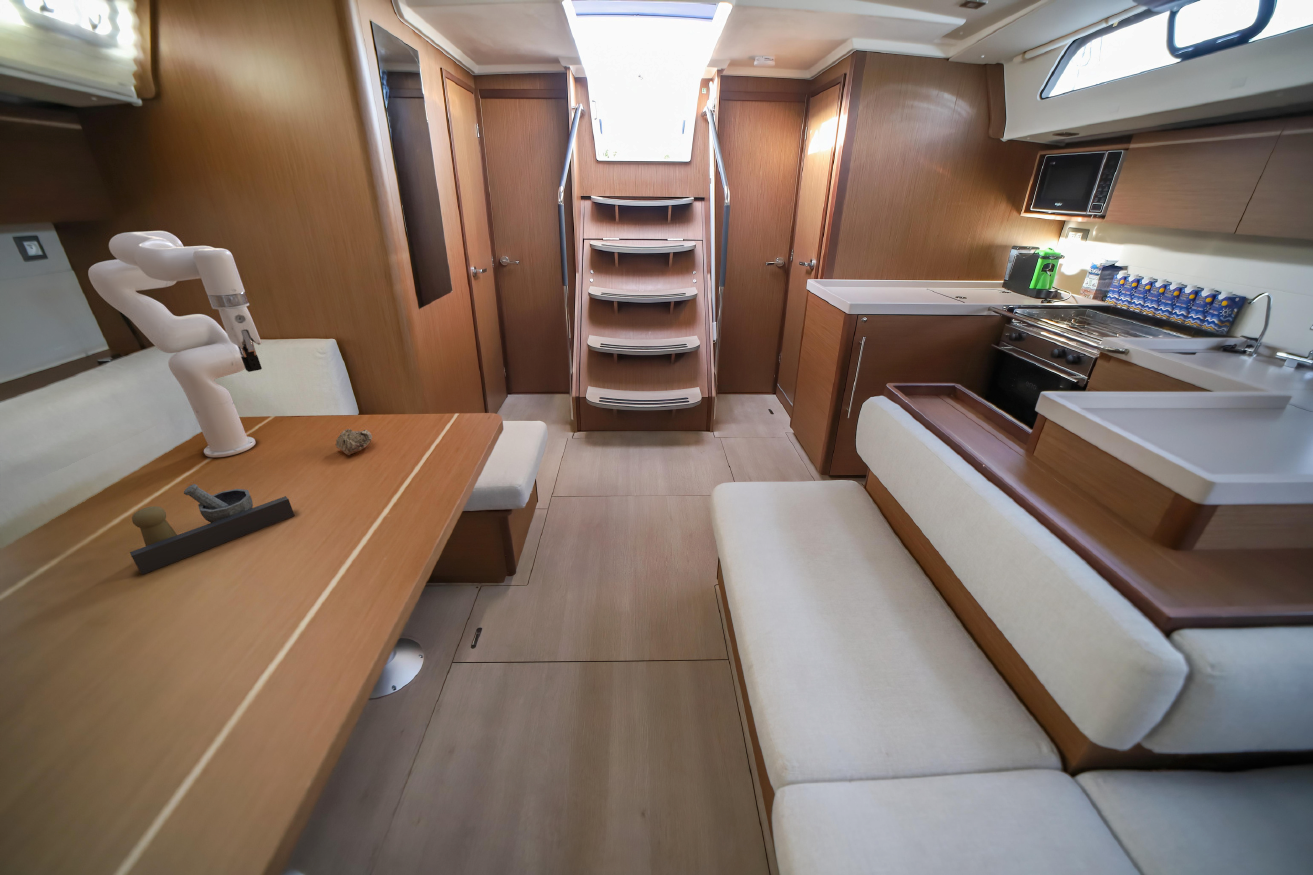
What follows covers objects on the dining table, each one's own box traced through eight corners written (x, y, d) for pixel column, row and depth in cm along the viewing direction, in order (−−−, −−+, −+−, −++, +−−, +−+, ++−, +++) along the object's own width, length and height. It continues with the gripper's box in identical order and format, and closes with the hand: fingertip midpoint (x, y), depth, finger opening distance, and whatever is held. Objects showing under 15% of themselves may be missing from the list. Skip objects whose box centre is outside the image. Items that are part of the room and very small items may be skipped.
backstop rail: (140, 570, 105) (129, 552, 103) (292, 512, 125) (285, 495, 123) (142, 575, 104) (131, 556, 102) (294, 515, 124) (288, 498, 121)
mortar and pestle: (263, 508, 126) (246, 467, 121) (255, 529, 119) (237, 485, 113) (208, 519, 122) (188, 477, 117) (196, 541, 114) (174, 497, 109)
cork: (191, 546, 113) (171, 505, 108) (160, 562, 108) (137, 520, 103) (174, 540, 115) (153, 500, 110) (142, 556, 109) (119, 515, 105)
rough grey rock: (345, 466, 152) (374, 450, 152) (327, 450, 148) (358, 434, 148) (351, 447, 161) (379, 432, 161) (334, 431, 157) (363, 416, 157)
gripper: (256, 302, 124) (279, 372, 132) (238, 295, 133) (261, 361, 141) (218, 307, 119) (245, 379, 127) (202, 299, 128) (229, 367, 136)
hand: (254, 369), depth 134 cm, fingers closed
